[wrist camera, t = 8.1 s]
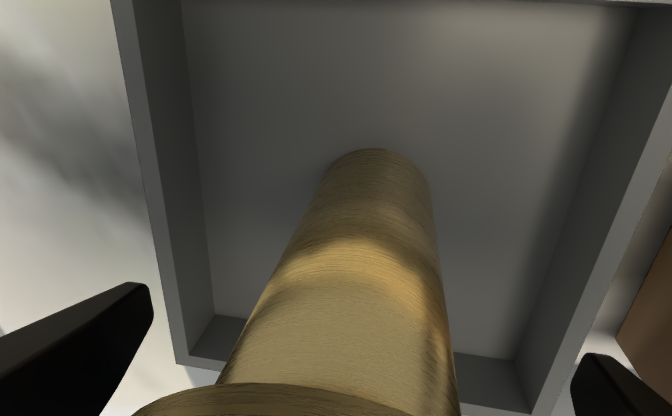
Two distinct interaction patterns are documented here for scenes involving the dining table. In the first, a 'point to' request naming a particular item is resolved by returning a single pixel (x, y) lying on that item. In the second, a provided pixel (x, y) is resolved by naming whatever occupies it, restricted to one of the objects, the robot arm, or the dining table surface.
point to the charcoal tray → (411, 142)
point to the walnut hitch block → (652, 326)
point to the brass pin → (345, 309)
